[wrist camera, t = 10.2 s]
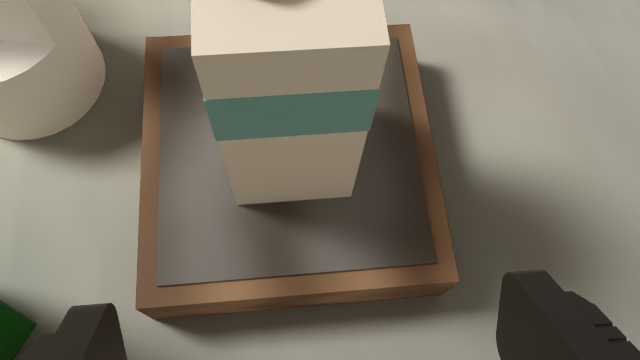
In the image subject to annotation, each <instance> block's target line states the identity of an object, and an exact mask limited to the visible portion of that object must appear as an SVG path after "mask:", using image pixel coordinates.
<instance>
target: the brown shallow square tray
mask: <svg viewBox="0 0 640 360" xmlns="http://www.w3.org/2000/svg"><path fill="white" fill-rule="evenodd" d="M387 29H388V35H389V40H390V48H389V52H388V56H387V60H386V63H385V67H384V71H383V75H382V79H381V83H380V94H379V98H378V102H377V105H376V109H375V113H374V117H373V120H372V124H371V128H370V131H368V133H367V137H366V141H365V145H364V149H363V152H362V156H361V160H360V164H359V168H358V172H357V176H356V180H355V183H354V187H353V191H352V195H351V197H338V198H325V199H311V200H298V201H285V202H272V203H258V204H245V205H237V203H236V200H235V197H234V193H233V190H232V187H231V184H230V180H229V177H228V174H227V171H226V167H225V164H224V161H223V158H222V154H221V151H220V148H219V145H218V141H216V140H215V137H214V134H213V131H212V127H211V124H210V121H209V118H208V115H207V112H206V108H205V105H204V102H203V93H202V89H201V86H200V83H199V80H198V76H197V73H196V70H195V67H194V63H193V60H192V57H191V35H185V36H165V37H146V51H145V77H144V103H143V129H142V155H141V181H140V207H139V233H138V259H137V285H136V310H138V311H140V312H142V313H143V314H145V315H147V316H148V317H150V318H152V319H165V318H176V317H188V316H199V315H210V314H222V313H233V312H245V311H256V310H268V309H279V308H291V307H302V306H313V305H325V304H336V303H348V302H359V301H371V300H382V299H394V298H405V297H416V296H428V295H439V294H443V293H444V292H446V291H447V290H448V289H450V288H451V287H452V286H454V285H455V284H456V283H458V282H459V277H458V272H457V267H456V261H455V256H454V251H453V246H452V241H451V235H450V230H449V225H448V220H447V215H446V209H445V204H444V199H443V194H442V189H441V184H440V178H439V173H438V168H437V163H436V158H435V152H434V147H433V142H432V137H431V132H430V126H429V121H428V116H427V111H426V106H425V100H424V95H423V90H422V85H421V80H420V74H419V69H418V64H417V59H416V54H415V48H414V43H413V38H412V33H411V28H410V24H402V25H387Z"/></svg>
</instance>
